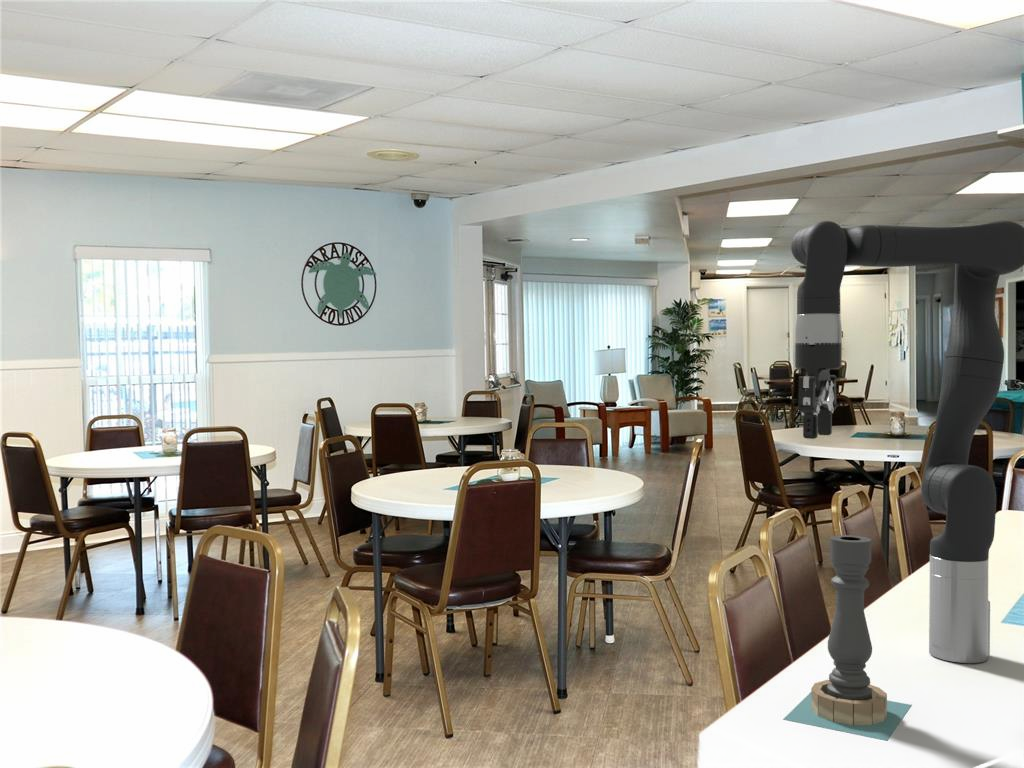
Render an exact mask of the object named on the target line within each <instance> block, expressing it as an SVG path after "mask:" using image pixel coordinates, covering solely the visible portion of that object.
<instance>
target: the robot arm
mask: <svg viewBox="0 0 1024 768" xmlns="http://www.w3.org/2000/svg"><path fill="white" fill-rule="evenodd" d="M790 249H791V253H792V256H793V258H794V259H795V261H797V262H798V263H800V264H801V265H803V266H805V273H804V278H803V280H802V281H801V282H800V283H799V285H798V286H797V291H796V292H797V293H796V322H795V329H794V331H795V333H794V334H795V335H794V336H795V337H794V338H795V339H794V340H795V341H794V344H795V345H794V357H795V358H794V364H795V365H794V367H795V368H796V369H797V370H804V371H805V375H802V376H801V375H799V377H798V395H797V398H798V403H797V410H798V412H799V413H801V415H802V419H803V421H802V423H803V424H802V425H803V427H802V428H803V429H802V430H803V431H802V434H803V435H802V436H803V438H804V439H809V440H810V439H811V440H815V439H817V438H818V436H819V435H820V436H830V435H832V433H833V429H832V427H833V426H832V425H833V414H834V411H835V410H836V409H837V407H838V405H837V375H835V374H831V372H830V370H840V369H841V368H842V351H843V350H842V347H843V346H842V345H843V344H842V343H843V342H842V341H843V340H842V339H843V338H842V321H841V287H842V285H841V284H842V281H843V278H844V273H845V269H846V266H858V267H859V266H860V267H874V268H875V267H876V268H878V267H879V268H883V267H884V268H897V267H898V268H900V267H915V266H916V267H917V266H927V265H949V264H950V265H954V288H953V289H954V291H953V304H952V311H951V318H950V325H949V333H948V341H947V346H946V352H945V355H944V363H943V370H942V377H941V386H940V393H939V399H938V405H937V412H936V418H935V422H934V423H935V425H934V428H933V434H932V438H931V442H930V446H929V450H928V454H927V457H926V461H925V465H924V468H923V469H924V470H923V473H922V476H921V483H920V484H921V485H920V486H921V487H920V490H921V496H922V499H923V501H924V503H925V506H927V507H928V508H929V509H930V510H931V511H934V512H935V513H938V514H941V515H945V516H946V517H945V527H944V530H943V532H942V533H941V534H939V535H936V536H933V537H932V538H931V540H930V541H929V595H928V596H929V603H928V605H929V607H928V609H929V610H928V611H929V612H928V614H929V617H928V619H929V620H928V621H929V622H928V624H929V626H928V653H929V654H930V655H931V656H932V657H935V658H938V659H940V660H944V661H949V662H954V663H961V664H979V663H983V662H986V661H987V660H988V658H989V656H990V655H991V653H990V651H991V602H990V600H989V557H990V549H991V547H992V545H993V542H994V538H995V527H996V513H997V490H996V484H995V481H994V479H993V477H992V475H991V474H990V473H989V471H987V470H986V469H985V468H982V467H980V466H977V465H971V464H969V458H970V450H971V446H972V441H973V438H974V436H975V433H976V431H977V429H978V428H979V425H980V424H981V422H983V419H984V418H985V417H986V415H987V414H988V412H989V411H990V409H991V407H993V404H994V403H995V401H996V399H997V396H998V394H999V391H1000V387H1001V383H1002V376H1003V369H1004V362H1005V349H1004V342H1003V339H1002V335H1001V331H1000V328H999V325H998V322H997V319H996V318H997V317H996V311H995V309H996V308H995V301H996V294H997V288H998V283H999V280H1000V279H999V278H1000V276H1002V275H1003V276H1004V275H1007V274H1008V275H1009V274H1011V273H1013V272H1016V271H1018V270H1019V269H1021V268H1022V267H1024V226H1023V225H1021V224H1019V223H1017V222H1014V221H1011V220H995V221H991V222H988V223H984V224H977V225H968V226H967V225H966V226H965V225H964V226H946V227H945V226H944V227H943V226H942V227H939V226H938V227H937V226H935V227H933V226H911V225H910V226H909V225H886V224H885V225H884V224H874V225H873V224H863V225H858V226H853V227H842V226H840V225H839V224H838V223H836V222H835V221H831V220H823V221H819V222H816V223H813V224H811V225H808V226H805V227H803V228H801V229H800V230H798V232H796V233H795V235H794V236H793V238H792V240H791V244H790Z"/></svg>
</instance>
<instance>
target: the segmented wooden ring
mask: <svg viewBox="0 0 1024 768" xmlns="http://www.w3.org/2000/svg"><path fill="white" fill-rule="evenodd" d="M830 683H831V682H830V681H829V679H825V680H822V681H818V682H817V681H816V682H815V683H813V685H812V687H811V691H810V692H811V709H812V710H813V711H814V712H815V713H816V714H817V716H819V717H822V718H825V719H827V720H830V721H834V722H838V723H844V724H850V725H873V724H876V723H880V722H883V721H885V718H886V716H887V700H888V694H887V692H886V691H884V690H883V689H881V688H880V687H878V686H876V685H872V684H870V685H869V686H868V687H869V688H871V689H872V699H870V700H856V701H852V700H845V699H839V698H835V697H832V696H830V695H827V685H828V684H830Z"/></svg>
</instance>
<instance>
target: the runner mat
mask: <svg viewBox="0 0 1024 768" xmlns="http://www.w3.org/2000/svg"><path fill="white" fill-rule="evenodd" d="M912 705H913V704H909V703H903V702H897V701H892V700H888V699H887V716H886V718H885V721H883V722H880V723H876V724H873V725H850V724H844V723H838V722H834V721H830V720H827V719H825V718H822V717H819V716H817V714H816V713H815V712H814V711H813V710H812V709H811V691H810V692H809V693H808V694H807V696H805V697H804V698H803V699H802V700H801V701H800V702H799V703H798V704H797V705H795V707H794V708H793V709H791V711H790V712H789V713H788V714H786V716H785V717H783V719H782V720H784V721H789V722H794V723H799V724H803V725H808V726H812V727H817V728H822V729H827V730H832V731H838V732H841V733H842V732H843V733H848V734H851V735H856V736H862V737H866V738H871V739H872V738H873V739H877V740H882V741H886V742H887V741H888V740H889V739H890V737H892V735H893V733H894V732H895V730H896V729H897V727H898V726H899V725H900V723H901V721H902V720H903V719H904V718H905V715H906V714H907V713H908V712H909V710H910V709H911V707H912Z"/></svg>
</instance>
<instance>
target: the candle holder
mask: <svg viewBox="0 0 1024 768" xmlns="http://www.w3.org/2000/svg"><path fill="white" fill-rule="evenodd" d="M829 561H831V567H832V568H833V569H834V573H835V574H836V575H835V576H833V577H831V580H830V582H831V585H832V586H834V589H835V592H836V593H835V610H834V611H835V612H834V616H833V619H832V623H831V627H830V630H829V631H830V633H829V635H828V639H827V650H828V654H829V655H830V657H831V659H832V660H833V665H834V666H835V667H834V668H833V669H832V671H831V672H830V673H829V674H828V680H829V681H830V682H831V683H830V684H828V685H827V695H830V696H832V697H835V698H839V699H845V700H852V701H856V700H870V699H872V689H871V688H869V687H868V686H869V685H871V678H870V677H869V676H868V674H867V672H866V671H865V670H864V669H866V667H867V666H866V663H867V662H868V661H869V660H870V658H871V657H872V653H873V645H872V641H871V638H870V632H869V628H868V623H867V620H866V618H867V617H866V615H865V591H866V590H867V588H869V587H870V581H869V580H868V579H867V578H866V577H865V575H867V571H868V570H869V569H870V564H871V563H872V539H871V538H869V537H867V536H865V537H864V536H860V535H850V534H849V535H848V534H843V535H842V534H836V535H831V536H829Z"/></svg>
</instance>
